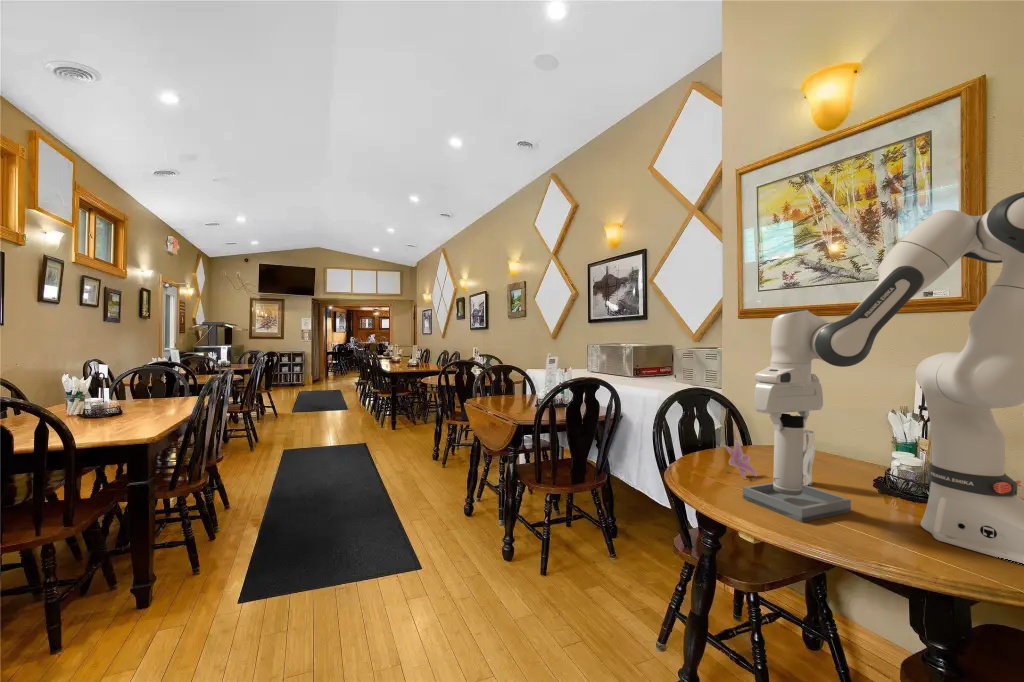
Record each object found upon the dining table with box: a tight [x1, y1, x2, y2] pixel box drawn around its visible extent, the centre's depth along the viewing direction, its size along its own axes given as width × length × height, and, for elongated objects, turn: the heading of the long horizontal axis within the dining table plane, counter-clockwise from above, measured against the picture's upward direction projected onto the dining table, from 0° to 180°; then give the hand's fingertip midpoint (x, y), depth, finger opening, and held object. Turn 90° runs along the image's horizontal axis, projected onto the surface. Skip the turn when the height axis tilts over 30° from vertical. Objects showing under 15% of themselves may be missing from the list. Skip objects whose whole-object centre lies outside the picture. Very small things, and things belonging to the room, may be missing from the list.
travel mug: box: [772, 413, 805, 495], centre depth 114 cm, size 6×7×20 cm
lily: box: [723, 439, 758, 479], centre depth 139 cm, size 12×12×10 cm
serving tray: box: [742, 482, 852, 523], centre depth 114 cm, size 16×17×3 cm
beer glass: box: [802, 428, 816, 486], centre depth 132 cm, size 7×7×15 cm
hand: (789, 429), depth 114 cm, fingers closed on travel mug, 6 cm apart
